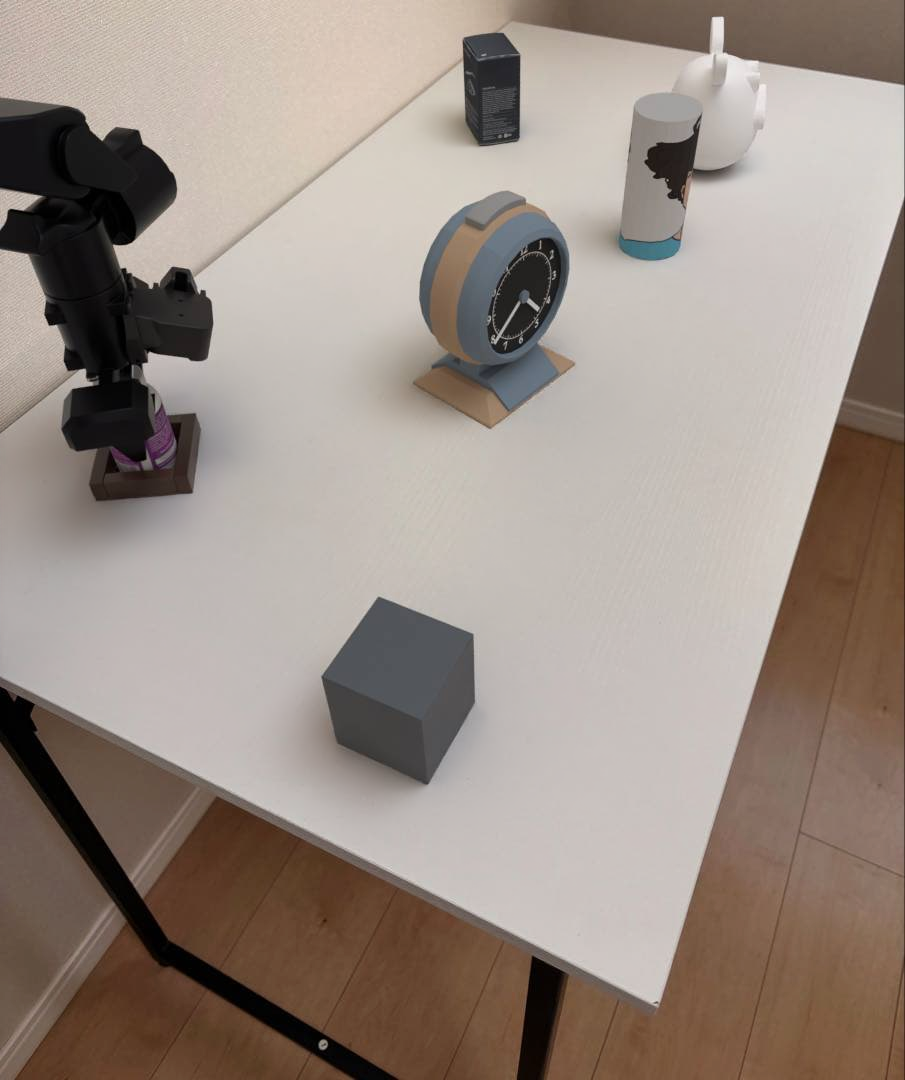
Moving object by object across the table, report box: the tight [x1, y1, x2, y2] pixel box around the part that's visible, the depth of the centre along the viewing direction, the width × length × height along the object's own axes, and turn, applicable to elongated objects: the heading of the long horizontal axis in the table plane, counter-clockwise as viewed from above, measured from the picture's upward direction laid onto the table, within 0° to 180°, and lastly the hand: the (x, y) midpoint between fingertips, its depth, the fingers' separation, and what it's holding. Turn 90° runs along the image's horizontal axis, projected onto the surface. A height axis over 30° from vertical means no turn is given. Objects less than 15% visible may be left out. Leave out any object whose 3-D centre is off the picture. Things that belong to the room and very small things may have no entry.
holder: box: [88, 412, 202, 502], centre depth 82 cm, size 8×8×2 cm
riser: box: [321, 596, 476, 785], centre depth 61 cm, size 7×7×8 cm
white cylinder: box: [618, 91, 703, 261], centre depth 99 cm, size 7×7×15 cm
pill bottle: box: [92, 365, 178, 473], centre depth 79 cm, size 5×5×10 cm
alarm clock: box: [412, 190, 576, 429], centre depth 83 cm, size 14×10×18 cm
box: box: [461, 32, 522, 146], centre depth 120 cm, size 8×6×11 cm
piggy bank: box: [670, 16, 768, 171], centre depth 110 cm, size 12×12×15 cm
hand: (140, 438), depth 80 cm, fingers closed on pill bottle, 5 cm apart
